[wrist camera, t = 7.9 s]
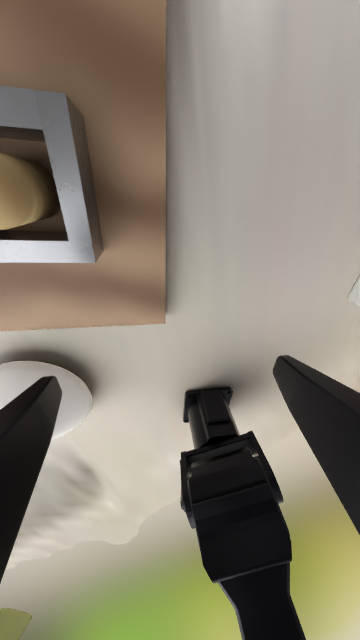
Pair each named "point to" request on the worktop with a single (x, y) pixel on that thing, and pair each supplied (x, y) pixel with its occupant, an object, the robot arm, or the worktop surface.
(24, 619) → the flower in vase
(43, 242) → the steel link
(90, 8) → the keeper board
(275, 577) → the robot arm
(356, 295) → the skincare box
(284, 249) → the worktop surface
